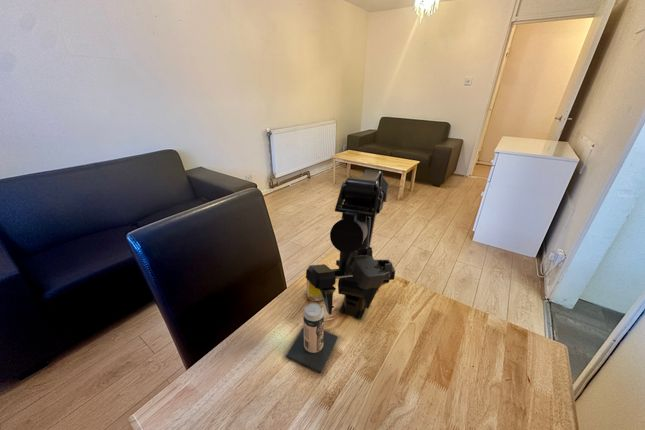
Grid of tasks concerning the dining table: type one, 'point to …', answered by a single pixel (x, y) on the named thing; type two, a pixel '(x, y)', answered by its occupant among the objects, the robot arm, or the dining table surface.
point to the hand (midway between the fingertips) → (348, 310)
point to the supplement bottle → (313, 292)
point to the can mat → (312, 359)
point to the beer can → (313, 327)
